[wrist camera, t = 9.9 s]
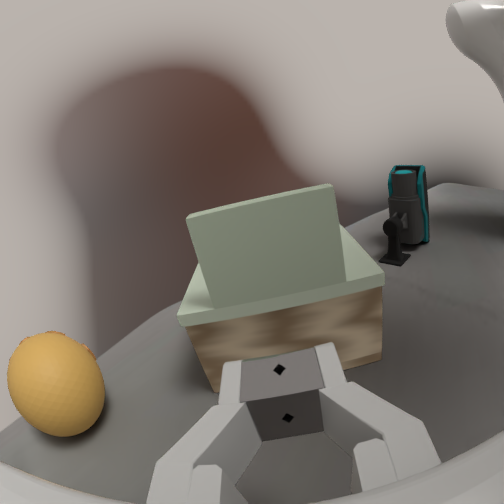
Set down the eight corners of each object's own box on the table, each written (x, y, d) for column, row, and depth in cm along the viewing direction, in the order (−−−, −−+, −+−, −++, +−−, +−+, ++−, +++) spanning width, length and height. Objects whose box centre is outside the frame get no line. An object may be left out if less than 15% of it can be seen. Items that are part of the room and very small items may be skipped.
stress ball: (126, 448, 20) (128, 343, 25) (25, 442, 13) (34, 311, 17) (73, 429, 24) (77, 346, 29) (-5, 416, 17) (3, 320, 21)
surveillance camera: (363, 177, 37) (394, 165, 42) (372, 261, 41) (400, 236, 46) (401, 178, 32) (426, 165, 37) (407, 267, 36) (430, 241, 42)
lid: (335, 226, 33) (324, 161, 30) (384, 284, 19) (375, 178, 17) (208, 254, 34) (189, 191, 31) (181, 327, 21) (144, 229, 18)
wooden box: (345, 290, 35) (337, 229, 33) (381, 359, 23) (381, 280, 21) (225, 315, 37) (207, 257, 34) (214, 392, 25) (183, 322, 22)
